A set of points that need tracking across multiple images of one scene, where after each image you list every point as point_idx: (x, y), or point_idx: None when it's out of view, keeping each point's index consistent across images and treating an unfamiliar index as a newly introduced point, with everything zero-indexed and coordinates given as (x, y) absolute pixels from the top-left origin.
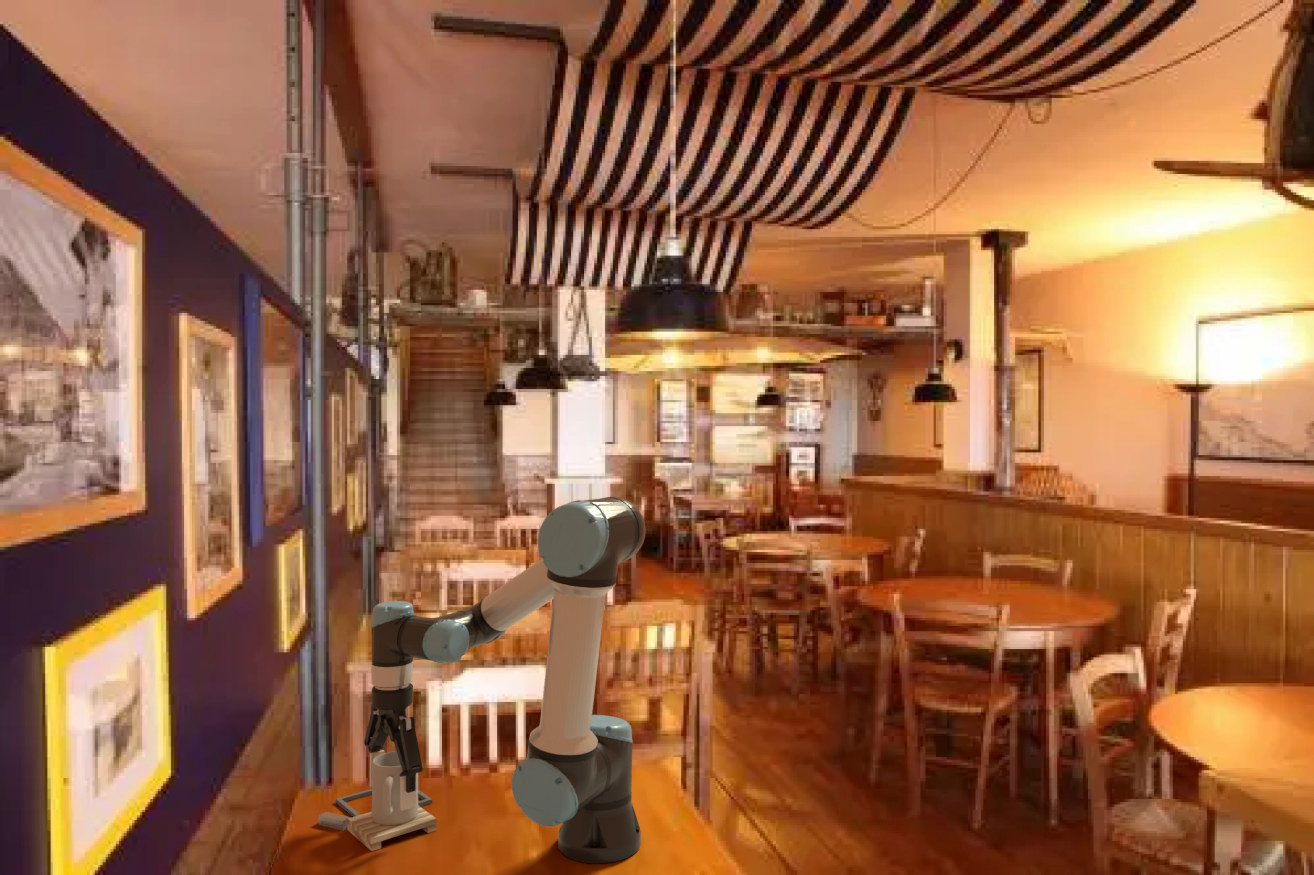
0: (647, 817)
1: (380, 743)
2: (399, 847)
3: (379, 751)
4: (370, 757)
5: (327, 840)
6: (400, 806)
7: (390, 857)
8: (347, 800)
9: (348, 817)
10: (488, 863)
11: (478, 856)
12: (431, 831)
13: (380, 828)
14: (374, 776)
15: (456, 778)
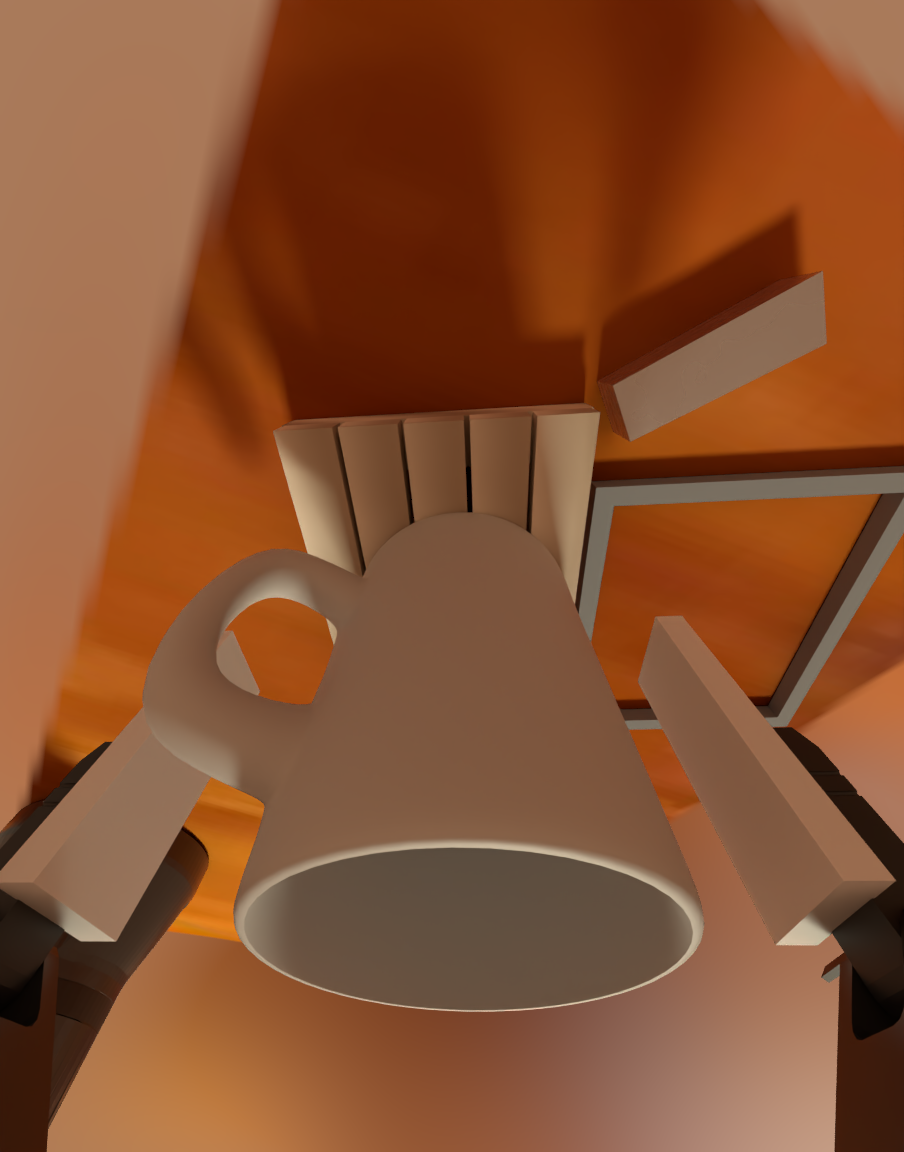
0: (212, 910)
1: (866, 1102)
2: (281, 528)
3: (814, 927)
4: (829, 826)
5: (546, 253)
6: (218, 642)
7: (202, 467)
8: (873, 516)
9: (635, 431)
10: (67, 683)
11: (121, 681)
12: None
13: (371, 510)
14: (446, 694)
15: (661, 805)
